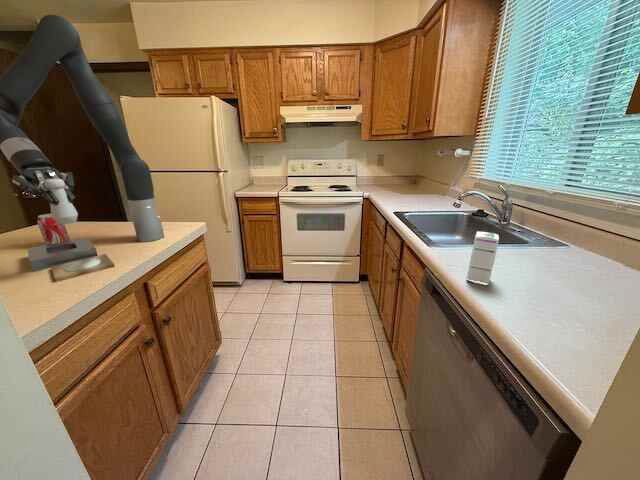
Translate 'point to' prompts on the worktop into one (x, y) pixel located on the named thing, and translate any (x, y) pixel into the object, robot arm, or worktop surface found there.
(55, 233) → the soda can
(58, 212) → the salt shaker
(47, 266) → the collar block
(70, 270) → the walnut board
